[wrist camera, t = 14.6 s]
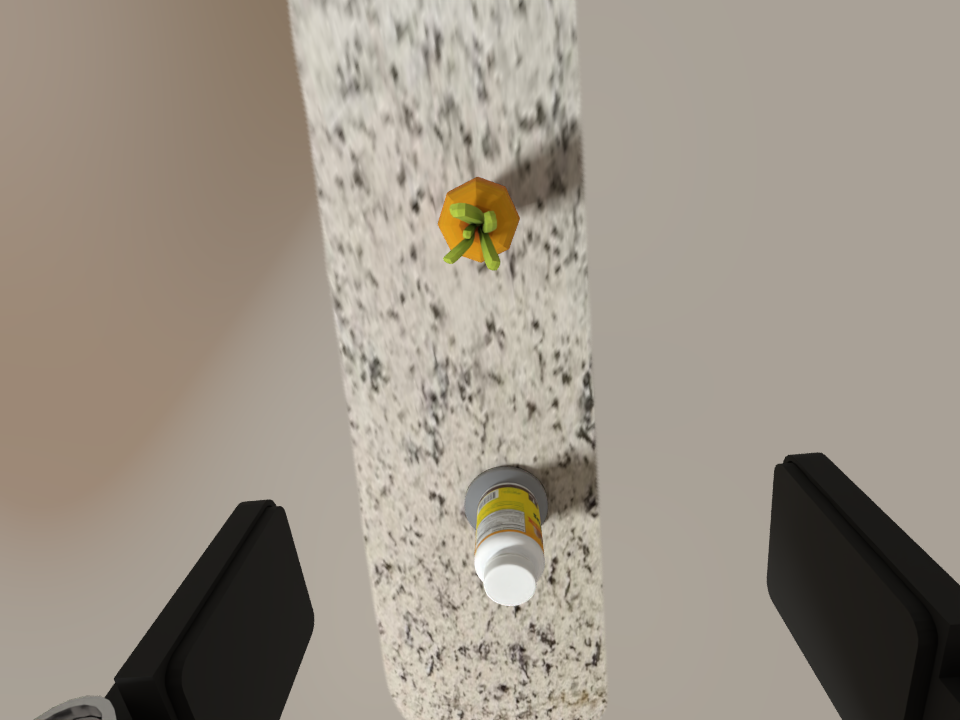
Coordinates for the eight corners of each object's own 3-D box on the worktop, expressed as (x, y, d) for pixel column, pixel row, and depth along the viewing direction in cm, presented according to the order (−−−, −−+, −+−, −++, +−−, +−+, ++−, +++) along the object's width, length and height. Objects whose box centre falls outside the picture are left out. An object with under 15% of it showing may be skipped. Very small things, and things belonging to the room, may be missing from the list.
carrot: (517, 235, 45) (524, 278, 31) (453, 239, 45) (432, 283, 31) (514, 167, 43) (521, 180, 29) (447, 172, 43) (423, 187, 29)
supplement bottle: (535, 533, 54) (543, 618, 44) (475, 528, 54) (470, 612, 44) (542, 481, 52) (551, 559, 42) (480, 476, 52) (475, 553, 42)
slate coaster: (459, 470, 52) (459, 475, 52) (543, 462, 52) (544, 467, 51) (470, 539, 55) (469, 544, 54) (550, 532, 55) (550, 538, 54)
